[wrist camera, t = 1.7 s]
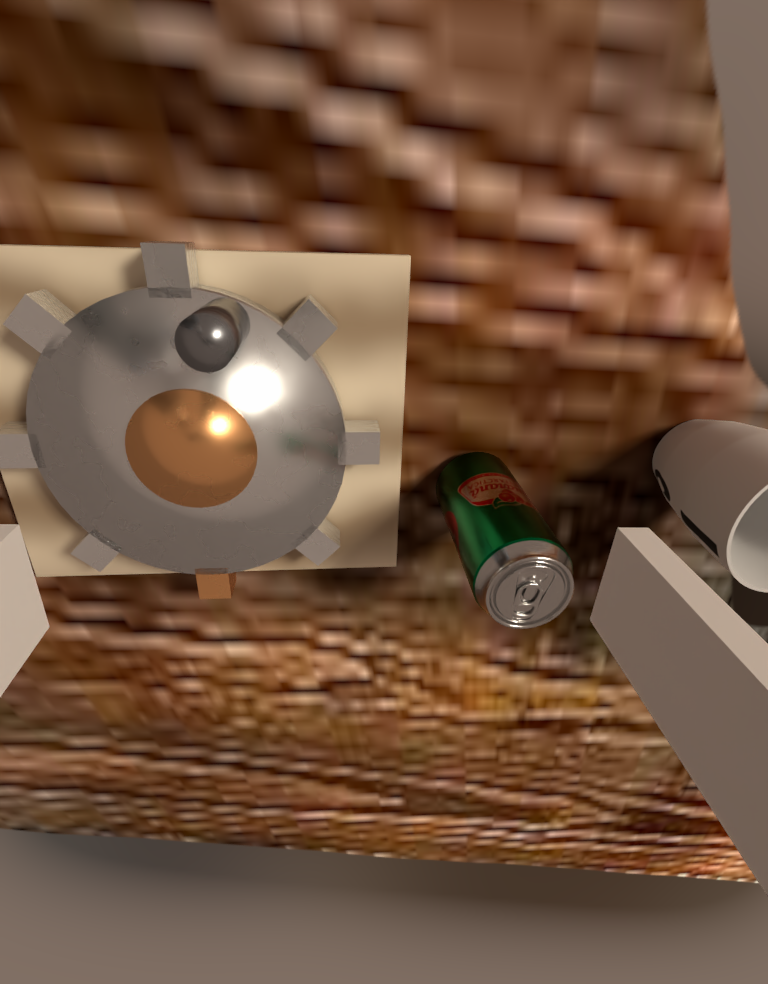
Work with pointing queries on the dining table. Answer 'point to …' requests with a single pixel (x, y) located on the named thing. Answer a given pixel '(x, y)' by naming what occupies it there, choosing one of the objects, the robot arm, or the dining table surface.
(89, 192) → the dining table surface
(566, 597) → the soda can
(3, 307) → the base board
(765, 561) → the cup
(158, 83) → the dining table surface
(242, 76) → the dining table surface
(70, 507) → the sprocket
